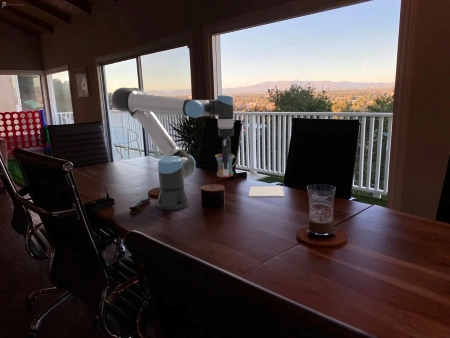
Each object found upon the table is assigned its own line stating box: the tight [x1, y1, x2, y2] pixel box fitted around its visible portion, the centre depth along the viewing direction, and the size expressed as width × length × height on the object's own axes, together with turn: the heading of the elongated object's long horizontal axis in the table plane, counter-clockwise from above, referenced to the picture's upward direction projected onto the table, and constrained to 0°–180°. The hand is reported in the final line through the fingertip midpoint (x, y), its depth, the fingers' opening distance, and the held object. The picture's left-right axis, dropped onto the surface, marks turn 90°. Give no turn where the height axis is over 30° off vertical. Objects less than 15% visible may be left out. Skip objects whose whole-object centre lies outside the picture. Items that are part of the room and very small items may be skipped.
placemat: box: [248, 185, 285, 198], centre depth 173 cm, size 18×18×1 cm
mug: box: [214, 153, 238, 178], centre depth 160 cm, size 12×9×11 cm
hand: (227, 173), depth 160 cm, fingers closed on mug, 8 cm apart
